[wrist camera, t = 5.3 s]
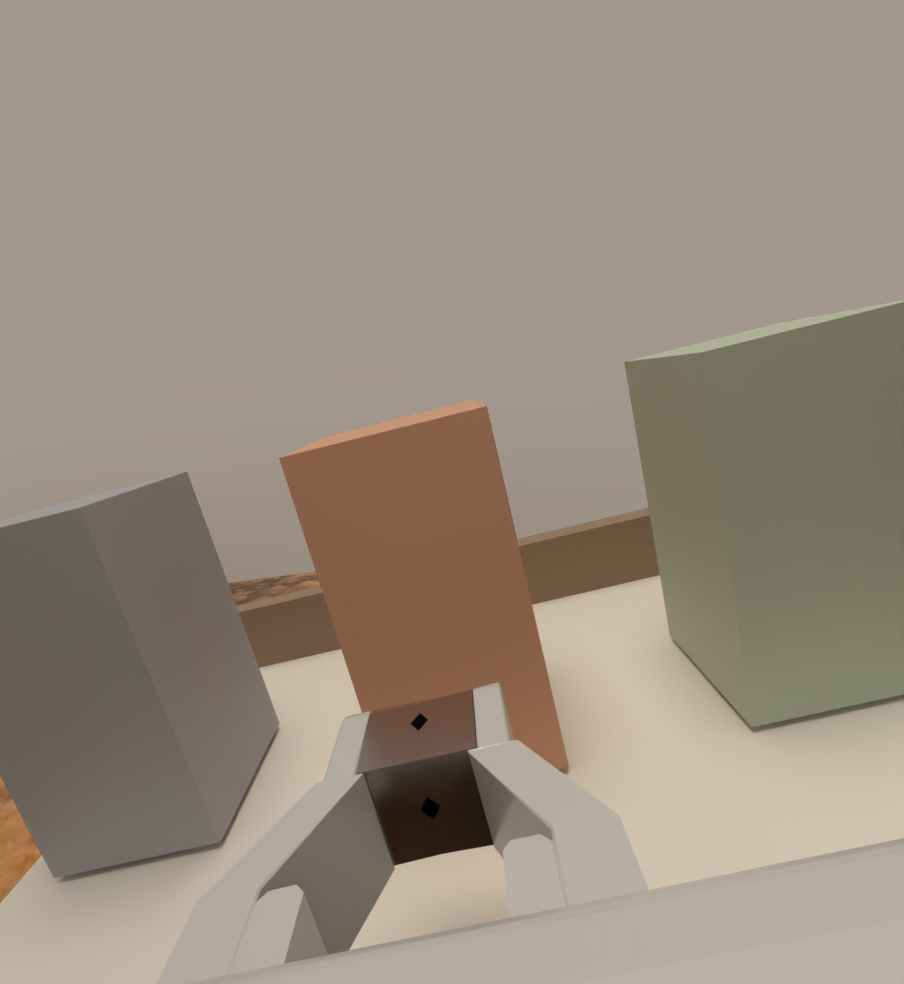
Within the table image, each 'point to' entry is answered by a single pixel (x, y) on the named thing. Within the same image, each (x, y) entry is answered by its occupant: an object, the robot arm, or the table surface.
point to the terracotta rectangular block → (425, 566)
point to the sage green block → (782, 508)
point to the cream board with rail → (592, 765)
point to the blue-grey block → (124, 678)
